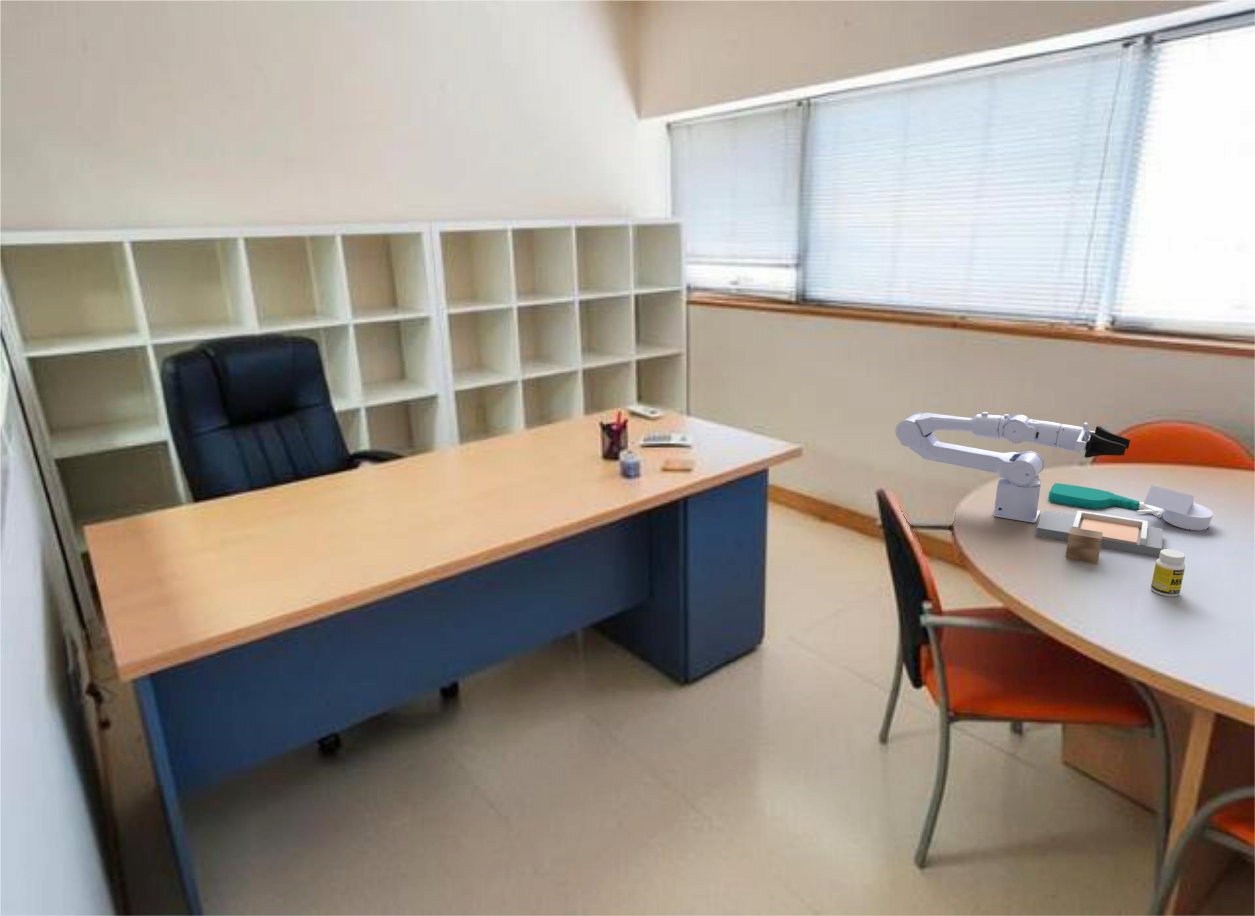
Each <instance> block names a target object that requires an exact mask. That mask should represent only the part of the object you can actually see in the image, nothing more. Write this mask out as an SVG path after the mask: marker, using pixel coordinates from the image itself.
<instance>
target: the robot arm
mask: <svg viewBox="0 0 1255 916" xmlns="http://www.w3.org/2000/svg"><path fill="white" fill-rule="evenodd" d="M936 431H958V432H962V431H963V432H970V433H971V434H972V435H973V436H974V437H976V438H977V437H978V438H987V439H1000V440H1001V439H1003V440H1004V439H1007V440H1008V441H1009V442H1011V443H1012V444H1020V443H1023V442H1026V443H1032V444H1036V445H1040V446H1046V447H1052V448H1058V449H1063V450H1067V451H1074V452H1077V453H1078V454H1079V453H1080V454H1082V453H1083V452H1085V453H1084V458H1087V459H1089V458H1093V457H1099V456H1100V457H1101V456H1117V457H1118V456H1119V457H1121V456H1125V453H1126V450H1128V449H1129V447H1130V443H1131V439H1130V438H1127V437H1125V436H1121V435H1118V434H1116V433H1113V432H1111V431H1109V430H1107V429H1105V428H1104V427H1102V426H1100V425H1096V427H1095V430H1090V428H1089V422H1086V421H1085V422H1084V423H1083V426H1077V425H1072V424H1065V423H1060V422H1054V421H1046V420H1038V419H1031V418H1030V417H1029V416H1027V415H1025V414H1021V413H1015V414H1013V415H1012V416H1010V413H1009V414H1008V413H1007V414H1006V413H1005V414H1004V415H997V414H989V412H988V411H983V412H982V413H977V414H976V415H974V416H973V417H963V416H956V415H948V414H941V413H932V412H924V413H922V412H914V413H912V414H911V415H909V416H908V417H907V418H906V419H904V420H902V421H900V422H898V424H897V425H896V427H895V435H896V438H897V439H898V441H899V443H900V444H901V445H902V446H903V447H906V448H909V449H910V450H912V451H913V452H914V453H915V454H917V455H918V456H919V457H921V458H922V459H924V460H926V461H927V460H928V461H931V462H936V463H937V462H938V463H943V464H949V465H953V466H959V467H964V468H968V469H969V468H970V469H974V470H978V471H985V472H990V473H994V474H997V475H998V476H999V477H1000V478H999V480H998V484H997V486H996V494H995V501H994V512H993V516H994V517H996V518H1001V519H1008V520H1015V521H1022V522H1027V523H1033V524H1036V523H1037V521H1038V519H1039V517H1040V514H1041V511H1040V510H1038V508H1039V499H1040V492H1041V485H1042V481H1041V479H1040V476H1039V475H1040V474H1041V472H1042V471H1043V470H1044V468H1045V460H1044V458H1043V457H1042V456H1041V454H1039V453H1038V452H1036V451H1032V450H1031V451H1030V450H1029V451H1028V450H1027V451H1023V452H1015V451H1008V452H999V451H993V450H987V449H981V448H976V447H971V446H965V445H960V444H953V443H947V442H943V441H939V440H938V438H937V437H936V434H935V433H934V432H936Z"/></svg>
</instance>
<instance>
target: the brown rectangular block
mask: <svg viewBox="0 0 1255 916" xmlns="http://www.w3.org/2000/svg"><path fill="white" fill-rule="evenodd" d="M1102 534H1103V532H1097V531H1091V530H1085V529H1079V528H1073V527H1071V529H1070V532H1069V537H1068V541H1067V544H1066V553H1065V558H1066V559H1067V560H1072V561H1076V562H1081V561H1082V563H1087V564H1093V565H1098V564H1099V563H1098V562H1099V557H1100V552H1101V548H1102V547H1101V540H1102Z"/></svg>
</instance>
